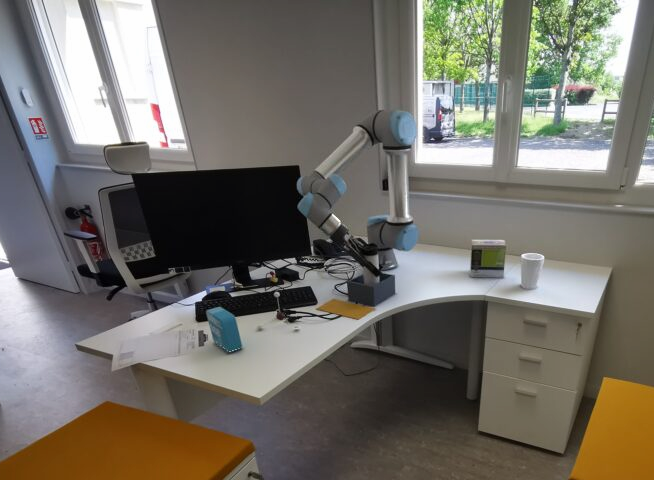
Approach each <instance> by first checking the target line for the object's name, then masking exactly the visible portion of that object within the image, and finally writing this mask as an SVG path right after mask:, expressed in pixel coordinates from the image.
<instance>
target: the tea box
mask: <svg viewBox="0 0 654 480" xmlns="http://www.w3.org/2000/svg"><path fill="white" fill-rule="evenodd" d="M470 245H471V247H470V264H469V265H470V277H471V278H504V277H505V276H504V275H505V265H506V263H505V262H506V252H507V251H506V250H507V244H506V240H505V239H471V244H470Z"/></svg>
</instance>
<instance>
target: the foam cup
mask: <svg viewBox="0 0 654 480" xmlns="http://www.w3.org/2000/svg"><path fill="white" fill-rule="evenodd" d="M544 262H545V256H544V255H543V254H540V253H535V252H530V253H529V252H527V253H522V254H521V257H520V287H521V288H523V289H526V290H534V289H536V288H537V285H538V282H539V279H540V275H541V272H542V269H543V265H544V264H545V263H544Z"/></svg>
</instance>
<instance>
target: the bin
mask: <svg viewBox="0 0 654 480" xmlns="http://www.w3.org/2000/svg"><path fill="white" fill-rule="evenodd" d="M346 288H347V289H346V290H347V299H348V301H347V302H351V303H356V304H360V305H364V306H369V307H373V308H375V307H376V306H378V305H379V304H382V303H383V302H384V301H386V300H388V299H389V298H391V297H393V296H394V295H396V275H395V274H391V273H386V272H382V273H381V274H380V275H379V283H378V284H376V285H374V286H370V285H365V284H364V277H363V273H361V274H359V275H356V276H354V277H353V278H350V279H349V280H347V281H346Z"/></svg>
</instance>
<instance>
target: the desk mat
mask: <svg viewBox="0 0 654 480" xmlns="http://www.w3.org/2000/svg"><path fill="white" fill-rule="evenodd" d="M315 310H317V311H322V312H326V313H329V314H333V315H337V316H340V317H341V316H342V317H345V318H349V319H353V320H358V321H359V320H360V319H362V318H363V317H365V316H366V315H369V314H370V313H372V312H373V311H375V310H376V308H375V307H371V306H367V305H363V304H358V303H354V302H350V301H344V300H339V299H336V298H333V299H330V300H329V301H327V302H325V303H323V304H322V305H320V306H318V307H316V308H315Z"/></svg>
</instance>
